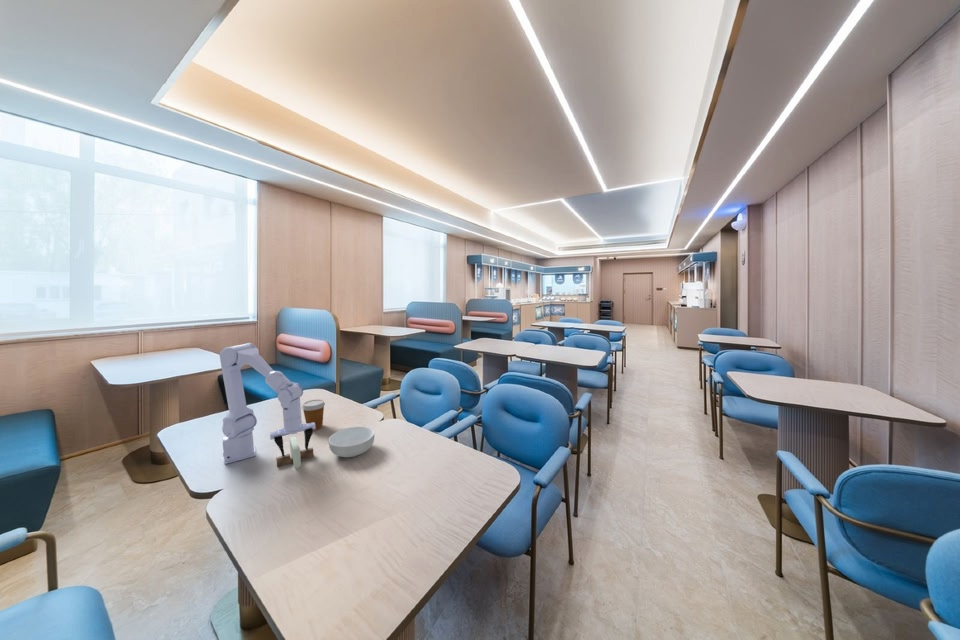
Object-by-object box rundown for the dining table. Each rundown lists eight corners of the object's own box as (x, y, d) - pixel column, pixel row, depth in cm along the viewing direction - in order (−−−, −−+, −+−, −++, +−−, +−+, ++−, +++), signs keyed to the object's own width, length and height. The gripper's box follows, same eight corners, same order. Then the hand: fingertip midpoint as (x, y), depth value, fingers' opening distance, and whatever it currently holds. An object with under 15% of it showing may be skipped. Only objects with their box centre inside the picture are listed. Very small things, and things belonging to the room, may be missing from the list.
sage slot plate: (301, 466, 115) (299, 448, 114) (294, 468, 114) (293, 450, 113) (296, 453, 124) (295, 436, 124) (290, 454, 123) (289, 437, 122)
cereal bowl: (359, 466, 115) (358, 448, 114) (319, 461, 118) (318, 443, 117) (382, 443, 131) (382, 427, 131) (347, 440, 135) (346, 424, 134)
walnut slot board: (277, 467, 115) (276, 459, 115) (276, 465, 116) (276, 457, 116) (313, 456, 122) (313, 448, 122) (313, 454, 123) (312, 447, 123)
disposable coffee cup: (319, 432, 142) (318, 406, 141) (298, 432, 142) (297, 406, 141) (330, 422, 152) (328, 399, 150) (310, 422, 152) (309, 399, 151)
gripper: (269, 426, 110) (272, 462, 111) (315, 415, 118) (318, 449, 120) (268, 419, 115) (271, 454, 117) (312, 409, 124) (314, 442, 125)
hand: (295, 451), depth 119 cm, fingers open, 7 cm apart
